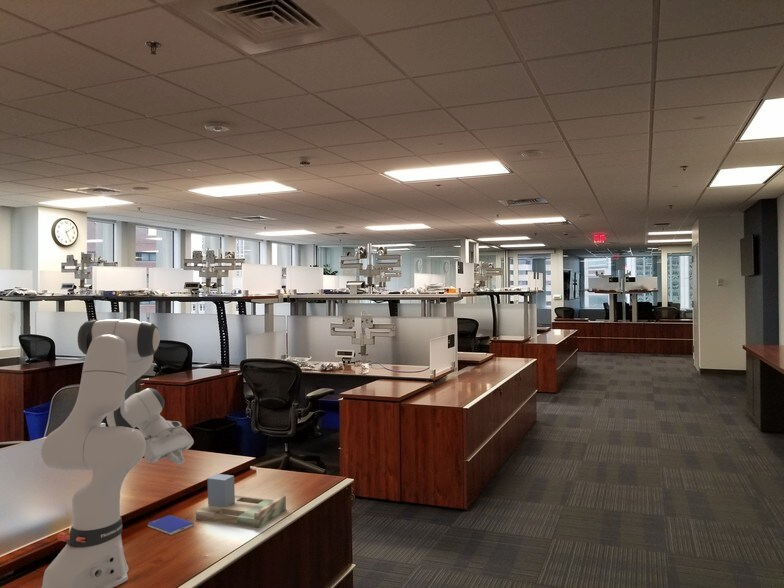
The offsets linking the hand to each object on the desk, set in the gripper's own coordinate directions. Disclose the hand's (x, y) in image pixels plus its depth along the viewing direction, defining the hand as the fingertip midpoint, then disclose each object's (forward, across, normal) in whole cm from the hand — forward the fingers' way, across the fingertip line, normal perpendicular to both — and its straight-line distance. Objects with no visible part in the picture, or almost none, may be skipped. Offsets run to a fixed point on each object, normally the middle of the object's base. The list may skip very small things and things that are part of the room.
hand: (181, 462), depth 199 cm
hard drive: (+17, -15, +5) cm, 23 cm away
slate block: (+20, 0, -3) cm, 21 cm away
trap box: (+28, 0, -7) cm, 29 cm away
